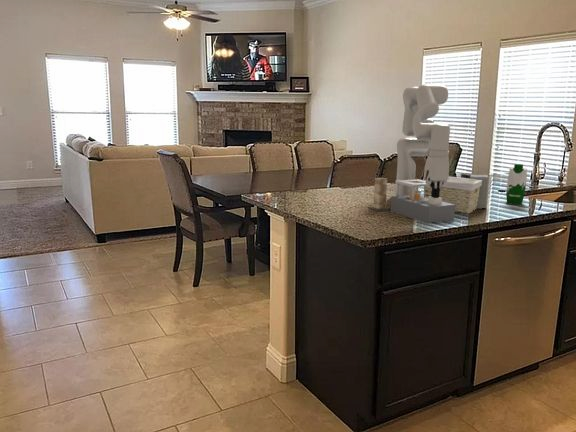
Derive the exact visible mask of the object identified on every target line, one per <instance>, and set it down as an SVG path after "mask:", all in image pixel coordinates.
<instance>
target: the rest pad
mask: <svg viewBox="0 0 576 432" xmlns="http://www.w3.org/2000/svg"><path fill="white" fill-rule="evenodd" d="M368 209H370V210H373V211H376V212H384V211H390V210H391V208H389V207H386V208H385V209H377V208H374V206H368Z"/></svg>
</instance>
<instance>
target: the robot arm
mask: <svg viewBox="0 0 576 432" xmlns="http://www.w3.org/2000/svg"><path fill="white" fill-rule="evenodd" d="M448 98H449V91H448V88H447V86H445V85H444V84H428V83H427V84H421V85H419V86H409V87H406V88H405V89H404V90H403V93H402V100H403V106H404V113H403V119H402V130H401V131H402V134H403V135H404V136H407V137H402V138H400V139H398V141H397V143H396V151H397V152H396V153H397V154H396V155H397V166H396V167H397V168H396V180H395V181H397V180H415V179H416V171H417V170H416V169H417V165H416V162H415V160H414V159H413V158H412V157H427V156H428V157H427V158H426V160H425V161H426V162H425V164H424V165H425V166H424V171H423V172H424V173H423V179H424V180H426V182H425V183H426V184H429V185H430V186H431V188H432V192H431V197H434V198H439V193H440V188H441V187H442V185H443V184H445V183H447V180H448V177H449V162H450V157H449V158H448V154H450V151H449V147H450V146H449V145H450V133H451V126H450V125H449V124H446V123H444V122H443V123H442V122H435V121H434V120H433V119H432V118H434V117H435V116H436V115H438V113H439V109H440V107H439V106H441V105H443V104H445V103H447V101H448ZM396 185H397V183H395V186H396ZM410 193H412V187H411V186H407V185H403V184H399V196H404V195H410ZM415 193H416V188H415ZM418 194H422V190H421V189H419V190H418ZM392 196H396V193H393V194H392Z"/></svg>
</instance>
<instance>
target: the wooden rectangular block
mask: <svg viewBox="0 0 576 432" xmlns="http://www.w3.org/2000/svg"><path fill="white" fill-rule="evenodd" d="M373 189H374V191H373V192H374V194H373V207H374V208H377V209H385V208H387V207H386V205H387V190H388V178H386V177H374V188H373Z"/></svg>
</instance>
